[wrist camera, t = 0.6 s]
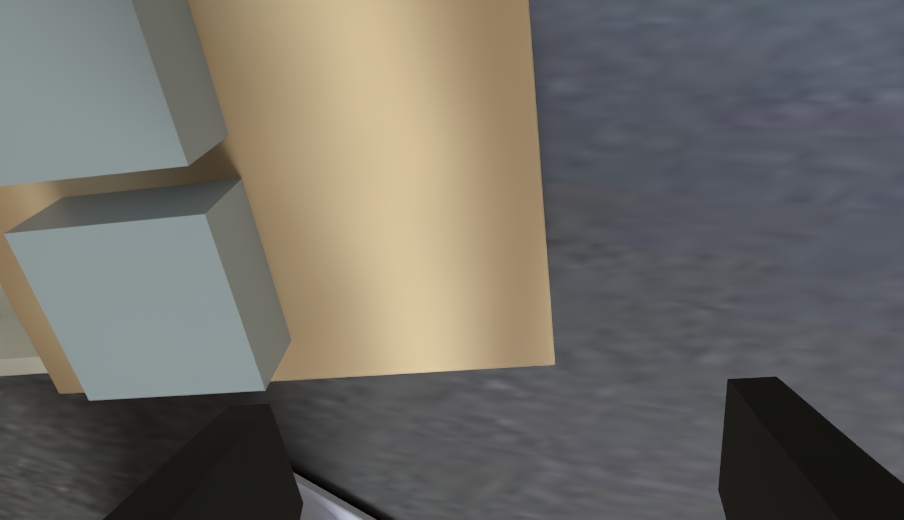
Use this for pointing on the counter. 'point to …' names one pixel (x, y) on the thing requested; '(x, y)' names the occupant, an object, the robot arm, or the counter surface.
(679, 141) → the counter surface
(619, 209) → the counter surface
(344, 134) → the maple bench
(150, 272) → the slate tile
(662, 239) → the counter surface
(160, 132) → the slate tile
